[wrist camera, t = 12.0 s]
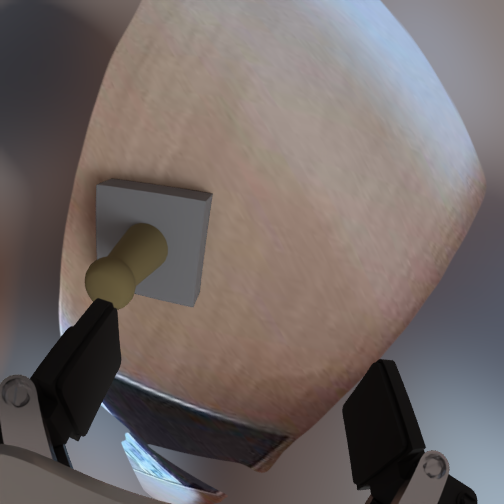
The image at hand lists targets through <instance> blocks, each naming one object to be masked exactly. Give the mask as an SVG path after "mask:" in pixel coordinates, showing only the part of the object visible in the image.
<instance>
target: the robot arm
mask: <svg viewBox="0 0 504 504" xmlns="http://www.w3.org/2000/svg"><path fill="white" fill-rule="evenodd" d="M120 365H121V351H120V341H119V329H118V313H117V308H114V306H113V303H112V302H109V301H106V300H103V299H100V298H97V299H96V300H95V301H94V302H93V303H92V304H91V305H90V307H89V308H88V309H87V310H86V312H85V313H84V314H83V315H82V316H81V318H80V319H79V320H78V321H77V323H76V324H75V325H74V326H71V327H69V328H68V329H67V330H66V331H65V332H64V334H63V335H62V336H61V338H60V339H59V340H58V341H57V343H56V344H55V345H54V347H53V348H52V349H51V351H50V352H49V353H48V355H47V356H46V357H45V359H44V360H43V361H42V363H41V364H40V365H39V367H38V368H37V369H36V371H35V372H34V374H33V375H32V377H31V378H30V379H29V378H27V377H26V376H22V375H12V376H9V377H7V378H5V379H4V380H3V381H2V382H1V384H0V504H170V503H166V502H163V501H159V500H155V499H152V498H148V497H145V496H142V495H139V494H136V493H132V492H129V491H126V490H124V489H121V488H118V487H116V486H113V485H110V484H107V483H105V482H102V481H100V480H97V479H95V478H92V477H90V476H88V475H85V474H83V473H81V472H79V471H76V470H74V469H73V467H72V464H71V461H70V458H69V455H68V452H67V449H66V446H65V444H66V443H67V441H68V439H69V437H70V438H72V439H75V440H77V441H79V439H80V437H81V436H85V435H86V434H87V432H88V430H89V428H90V426H91V424H92V422H93V420H94V417H95V415H96V413H97V411H98V409H99V407H100V405H101V403H102V401H103V399H104V397H105V395H106V393H107V391H108V389H109V387H110V385H111V383H112V381H113V379H114V377H115V375H116V373H117V372H118V370H119V368H120ZM342 412H343V419H344V424H345V430H346V437H347V442H348V449H349V456H350V462H351V469H352V476H353V482H354V483H355V484H357V490H366V489H370V490H371V495H370V496H369V498H368V500H367V501H366V503H365V504H477V496H476V494H475V493H474V491H473V490H472V489H471V488H469V487H468V486H466V485H464V484H463V483H461V482H460V481H458V480H456V479H455V478H453V477H452V476H450V475H449V463H448V461H447V459H446V457H445V456H444V455H443V454H441V453H440V452H438V451H433V450H431V451H427V452H426V453H425V452H424V449H425V448H426V447H425V444H424V440H423V437H422V435H421V431H420V428H419V425H418V422H417V419H416V417H415V414H414V411H413V408H412V405H411V403H410V400H409V397H408V395H407V392H406V390H405V387H404V384H403V381H402V379H401V376H400V374H399V371H398V369H397V366H396V364H395V362H394V361H393V360H383V359H379V360H378V361H377V362H376V363H373V364H372V365H371V367H370V368H369V370H368V371H367V373H366V374H365V376H364V377H363V379H362V380H361V381H360V383H359V384H358V386H357V387H356V389H355V390H354V392H353V393H352V394H351V395H350V397H349V398H348V400H347V401H346V402H345V404H344V405H343V409H342Z"/></svg>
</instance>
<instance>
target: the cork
mask: <svg viewBox="0 0 504 504" xmlns="http://www.w3.org/2000/svg"><path fill="white" fill-rule="evenodd" d="M167 255H168V245H167V242H166V239H165V237H164V236H163V234H162V233H161V232H160V231H159V230H158V229H157V228H156V227H154V226H152V225H150V224H146V223H139V224H135V225H133V226H131V227H130V228H129V229H128V230H127V231H126V233H125V234H124V235H123V236H122V238H121V239H120V240H119V242H118V243H117V244H116V245H115V247H114V248H113V249H112V251H111V252H110V253H109V255H108V256H107V257H102V258H99V259H98V260H96V261H95V262H93V263H92V264H91V265H90V267H89V269H88V270H87V272H86V276H85V287H86V291H87V293H88V295H89V297H90V298H91V299H92V301H93V302H94V301H95V300H96V299H97V298H100V299H103V300H106V301H109V302H112V303H113V306H114V308H117V310H119V309H121V308H123V307H125V306H126V305H127V304H128V303H129V302H130V301H131V300H132V298H133V296H134V292H135V289H136V286H137V285H138V284H139V283H141V282H142V281H143V280H144V279H145V278H146V277H148V276H149V275H150V274H151V273H152V272H154V271H155V270H156V269H157V268H158V267H160V266H161V265H162V264H163V263H164V262H165V260H166V257H167Z"/></svg>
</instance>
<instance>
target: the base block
mask: <svg viewBox="0 0 504 504" xmlns="http://www.w3.org/2000/svg"><path fill="white" fill-rule="evenodd" d="M212 195H213V194H211V193H205V192H200V191H194V190H187V189H181V188H175V187H169V186H162V185H155V184H148V183H141V182H134V181H127V180H119V179H109V180H107V181H104V182H102V183H99V184H97V185H96V248H97V260H98V259H99V258H102V257H107V256H108V255H109V253H110V252H111V251H112V249H113V248H114V247H115V245H116V244H117V243H118V242H119V240H120V239H121V238H122V236H123V235H124V234H125V233H126V231H127V230H128V229H129V228H130V227H131V226H133V225H135V224H139V223H146V224H150V225H152V226H154V227H156V228H157V229H158V230H159V231H160V232H161V233H162V234H163V236H164V237H165V239H166V242H167V245H168V255H167V257H166V260H165V262H164V263H163V264H162V265H161V266H160V267H158V268H157V269H156V270H155V271H154V272H152V273H151V274H150V275H149V276H148V277H146V278H145V279H144V280H143V281H142V282H141V283H139V284H138V285H137V286H136V289H135V292H134V294H138V295H142V296H146V297H150V298H154V299H158V300H163V301H167V302H171V303H176V304H180V305H185V306H189V307H194V305H195V302H196V300H197V297H198V295H199V292H200V285H201V276H202V268H203V260H204V252H205V244H206V237H207V229H208V222H209V215H210V208H211V201H212Z"/></svg>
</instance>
